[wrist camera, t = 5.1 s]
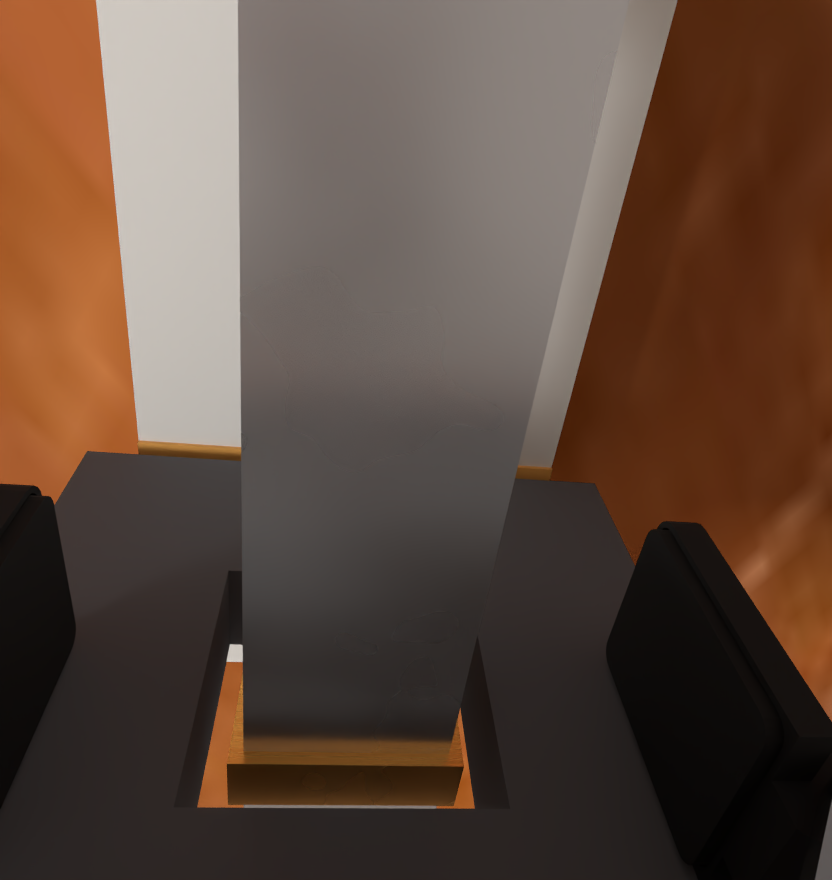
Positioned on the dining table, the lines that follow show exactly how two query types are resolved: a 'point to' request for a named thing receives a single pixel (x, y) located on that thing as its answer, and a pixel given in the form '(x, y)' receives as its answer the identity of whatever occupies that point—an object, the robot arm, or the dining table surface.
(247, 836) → the collar
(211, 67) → the stand
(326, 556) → the grey square bar
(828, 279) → the dining table surface
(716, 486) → the dining table surface
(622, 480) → the dining table surface
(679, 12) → the dining table surface
